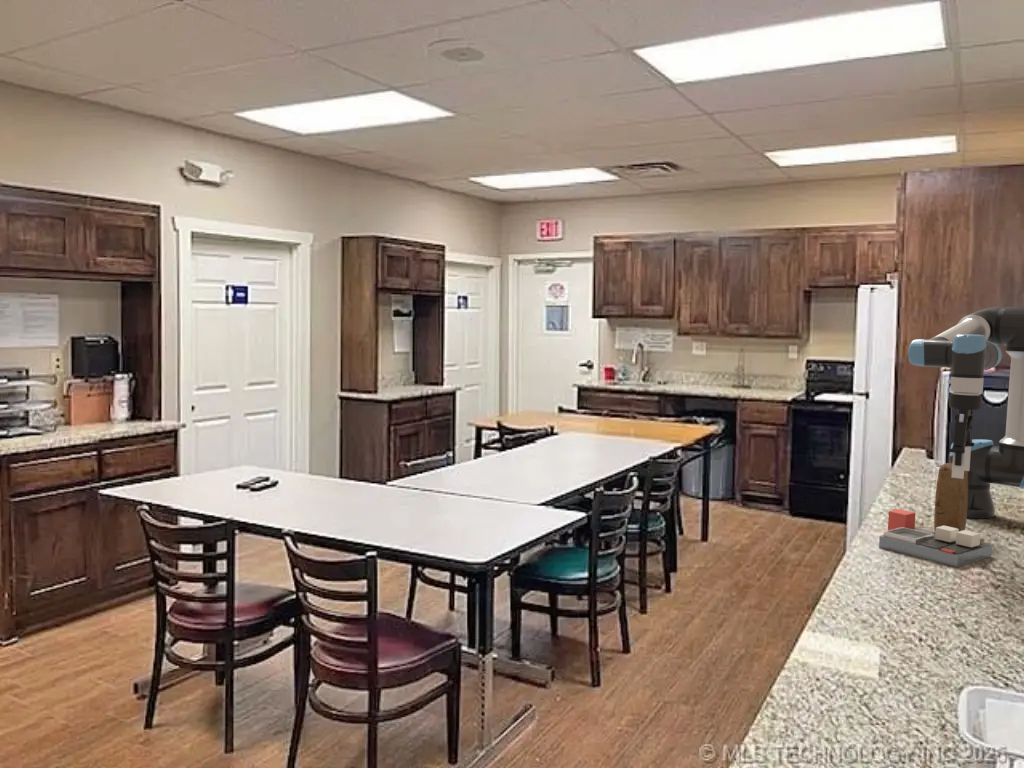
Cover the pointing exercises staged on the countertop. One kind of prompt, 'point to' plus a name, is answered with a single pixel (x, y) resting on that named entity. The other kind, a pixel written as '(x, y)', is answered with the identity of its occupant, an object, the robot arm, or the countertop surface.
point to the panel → (932, 547)
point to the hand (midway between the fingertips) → (960, 474)
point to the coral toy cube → (901, 519)
